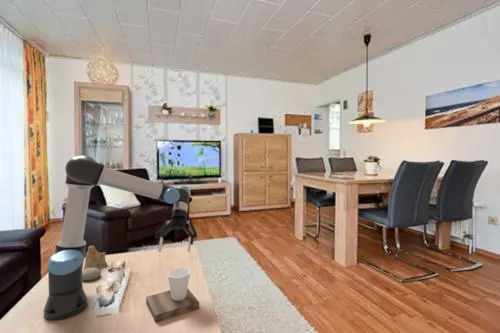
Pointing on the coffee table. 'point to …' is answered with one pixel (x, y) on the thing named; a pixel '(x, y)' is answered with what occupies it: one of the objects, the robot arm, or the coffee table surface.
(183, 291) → the cup
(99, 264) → the statue
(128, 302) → the coffee table surface
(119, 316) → the coffee table surface
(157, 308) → the wooden block
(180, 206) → the robot arm
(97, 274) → the sea urchin shell
